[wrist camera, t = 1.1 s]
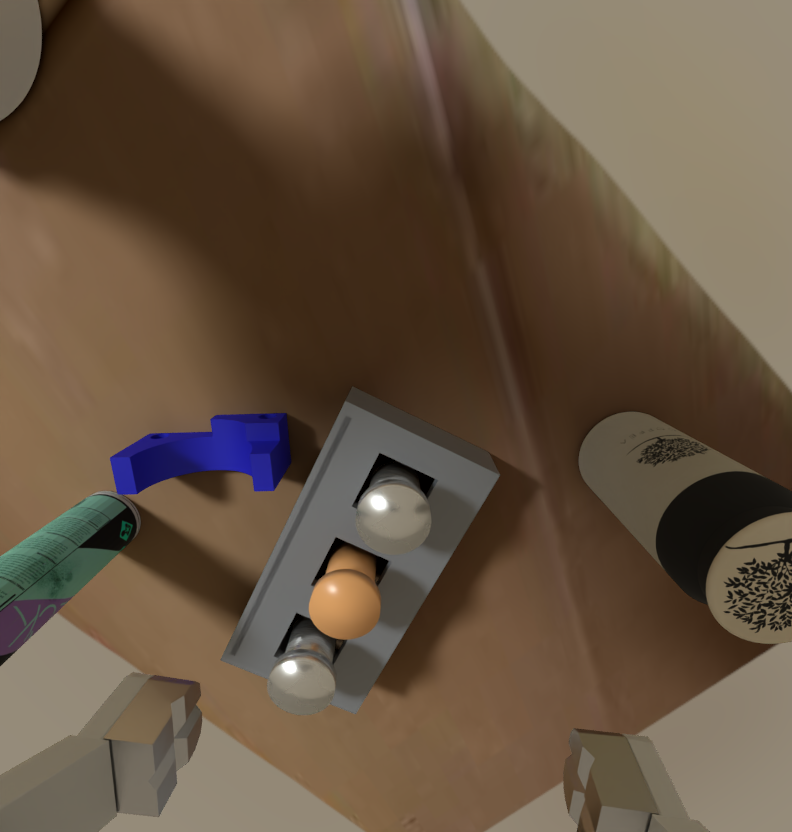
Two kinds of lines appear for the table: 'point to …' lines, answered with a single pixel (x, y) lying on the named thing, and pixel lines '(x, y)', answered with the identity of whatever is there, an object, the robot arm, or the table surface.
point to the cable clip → (209, 453)
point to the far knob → (304, 671)
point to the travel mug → (699, 520)
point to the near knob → (393, 511)
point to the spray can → (60, 563)
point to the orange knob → (346, 594)
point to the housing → (335, 517)
